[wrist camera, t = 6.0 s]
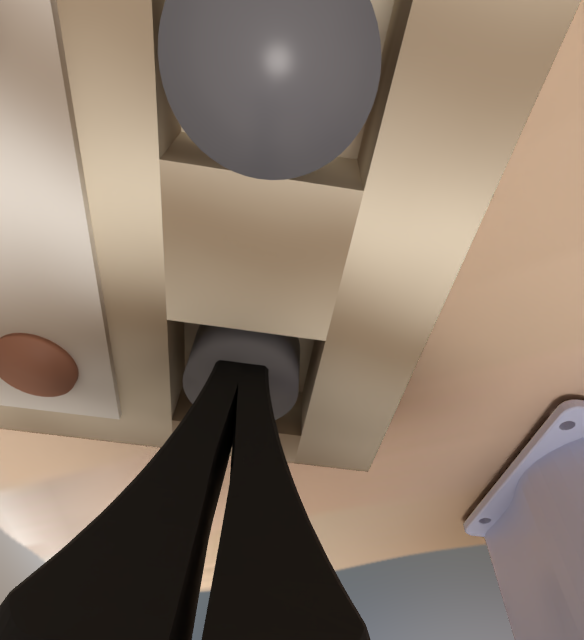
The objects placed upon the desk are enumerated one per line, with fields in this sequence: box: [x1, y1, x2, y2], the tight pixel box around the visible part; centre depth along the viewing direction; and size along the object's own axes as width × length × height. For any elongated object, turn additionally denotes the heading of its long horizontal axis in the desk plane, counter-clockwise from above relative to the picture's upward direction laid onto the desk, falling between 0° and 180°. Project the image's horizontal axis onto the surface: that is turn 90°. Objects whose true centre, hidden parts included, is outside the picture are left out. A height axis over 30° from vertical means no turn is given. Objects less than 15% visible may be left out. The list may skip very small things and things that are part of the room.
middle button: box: [158, 0, 382, 180], centre depth 7 cm, size 3×3×2 cm
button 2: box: [183, 324, 300, 420], centre depth 13 cm, size 3×3×2 cm
